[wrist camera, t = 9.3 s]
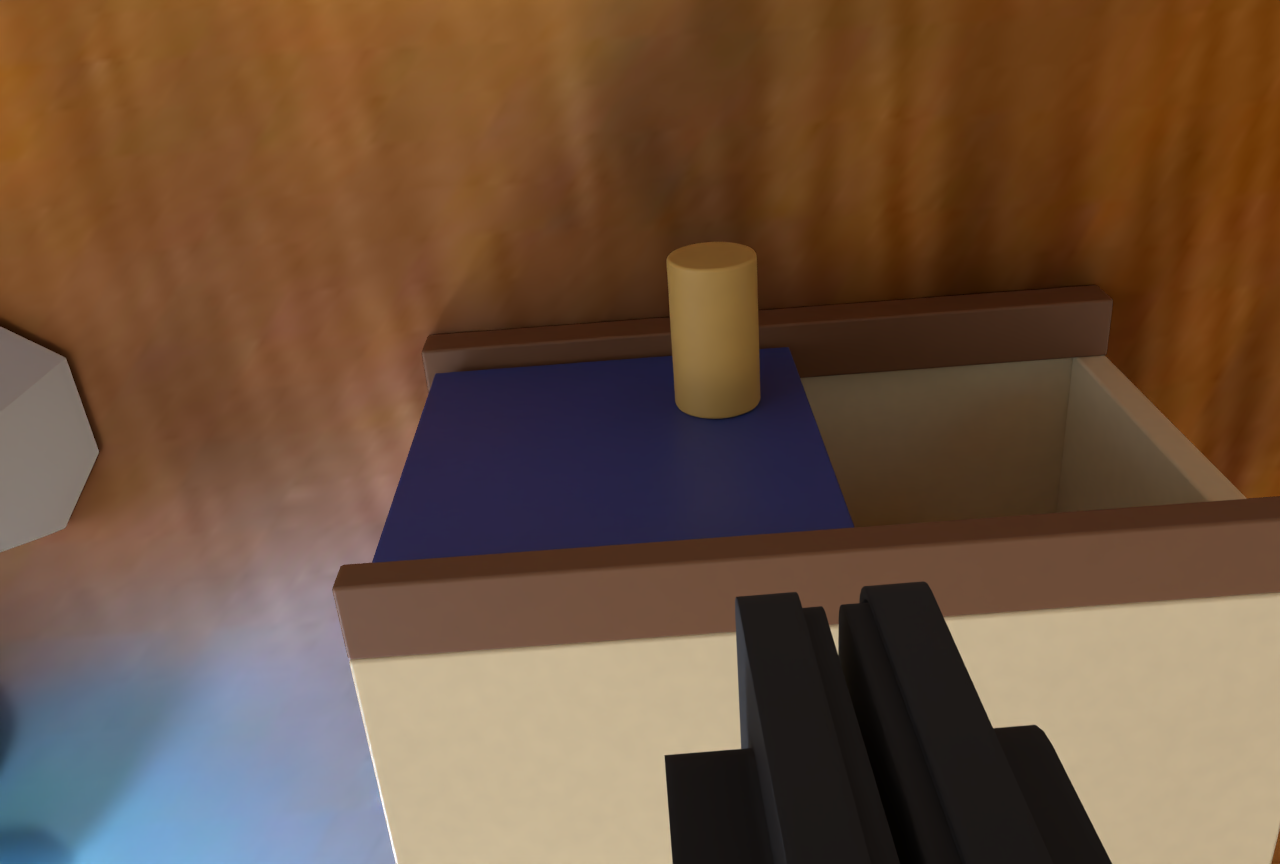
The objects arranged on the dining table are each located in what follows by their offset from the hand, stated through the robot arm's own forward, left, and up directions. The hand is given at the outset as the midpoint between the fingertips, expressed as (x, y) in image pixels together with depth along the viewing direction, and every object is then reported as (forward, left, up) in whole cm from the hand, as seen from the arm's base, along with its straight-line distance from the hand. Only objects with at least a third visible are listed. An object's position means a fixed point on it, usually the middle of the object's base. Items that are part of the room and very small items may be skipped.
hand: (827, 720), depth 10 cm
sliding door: (+3, -2, -19) cm, 20 cm away
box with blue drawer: (+10, +2, -21) cm, 23 cm away
